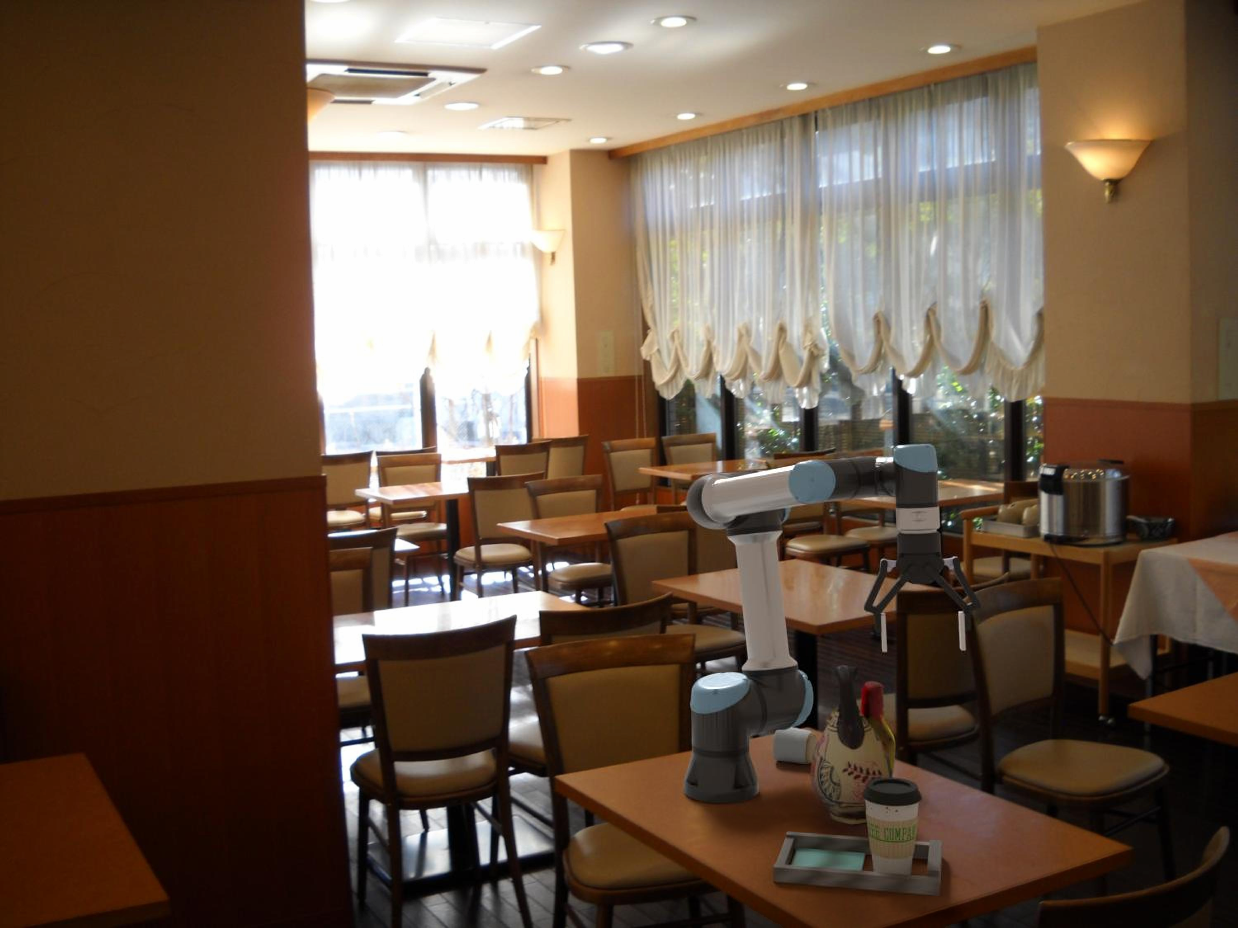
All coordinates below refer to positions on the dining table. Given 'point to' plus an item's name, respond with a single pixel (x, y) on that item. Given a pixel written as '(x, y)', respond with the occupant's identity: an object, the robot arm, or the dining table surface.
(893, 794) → the coffee cup
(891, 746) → the bottle
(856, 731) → the ceramic jug
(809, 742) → the ceramic mug
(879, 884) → the bay
